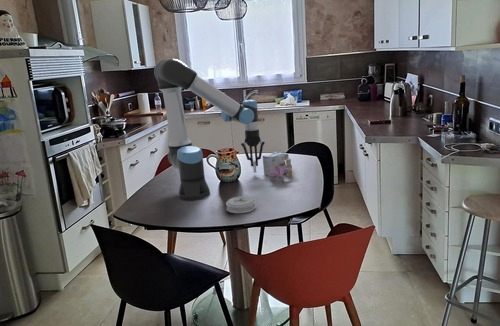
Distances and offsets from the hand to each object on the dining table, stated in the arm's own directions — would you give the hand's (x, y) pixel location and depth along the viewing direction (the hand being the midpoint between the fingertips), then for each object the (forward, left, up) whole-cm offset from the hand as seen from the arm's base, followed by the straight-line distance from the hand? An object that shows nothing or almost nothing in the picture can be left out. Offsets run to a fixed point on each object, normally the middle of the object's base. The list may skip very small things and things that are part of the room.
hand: (255, 171), depth 233 cm
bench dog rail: (0, -18, -2) cm, 18 cm away
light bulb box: (+1, -11, -2) cm, 11 cm away
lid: (-53, +7, -2) cm, 53 cm away
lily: (-15, -12, -2) cm, 20 cm away
